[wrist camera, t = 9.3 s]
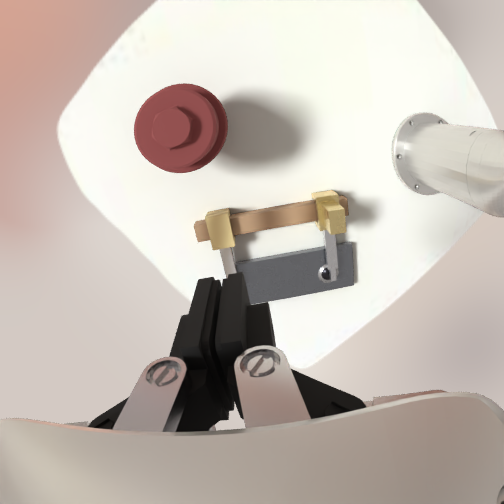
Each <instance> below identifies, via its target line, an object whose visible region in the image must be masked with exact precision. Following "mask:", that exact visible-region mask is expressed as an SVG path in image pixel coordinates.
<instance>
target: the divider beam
mask: <svg viewBox="0 0 504 504" xmlns="http://www.w3.org/2000/svg"><path fill="white" fill-rule="evenodd" d="M339 204H340V205H341V206H342V207H343V208H344V209H345V216H348V215H349V212H348V201H347V198H346V197H344V196H343V195H342V196H339ZM312 221H318V218H317V209H316V202H315V201H314V200H310V201H304V202H298V203H292V204H287V205H281V206H275V207H269V208H264V209H258V210H253V211H247V212H242V213H237V214H231V215H230V210H229V208H226V209H220V210H215V211H210V212H208V213H207V215H206V217H205V220H201V221H196V222H195V224H194V229H195V233H196V237H197V240H198V242H202V241H207V240H211V244H212V248H213V250H218V249H220V253H221V257H222V261H223V265H224V269H225V273H226V277H227V278H228V274H233V273H237V270H236V266H235V261H234V257H233V253H232V248H231V247H234V246H235V240H236V237H235V235H239V234H245V233H250V232H256V231H261V230H267V229H272V228H278V227H284V226H289V225H295V224H301V223H307V222H312Z"/></svg>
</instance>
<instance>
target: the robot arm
mask: <svg viewBox="0 0 504 504" xmlns="http://www.w3.org/2000/svg"><path fill="white" fill-rule="evenodd" d="M409 122H410V124H409ZM397 155H398V157H397ZM392 160H393V164H394V168H395V170H396V173H397V175H398V176H399V178H400V180H401V181H402V182H403V183H404V184H405V186H407V187H408V188H409V189H411V190H413V191H415V192H417V193H420V194H423V195H432V194H436V193H438V192H442V193H445V194H447V195H449V196H452V197H454V198H456V199H458V200H460V201H463V202H465V203H467V204H469V205H471V206H473V207H475V208H477V209H479V210H481V211H484V212H486V213H488V214H490V215H493V216H496V217H504V131H503V130H496V129H488V128H480V127H471V126H461V125H450V124H448V123H447V122H446V121H444V120H443V119H442V118H440V117H439V116H437V115H434V114H432V113H417V114H413V115H411V116H409V117H407V118H406V119H405V120H404V121H403V122H402V123H401V124H400V126H399V127H398V129H397V131H396V133H395V135H394V139H393V143H392ZM234 401H235V404H236V407H237V409H238V412H239V414H240V417H241V418H242V419H244V422H245V427H246V428H245V429H233V430H219V431H216V428H215V424H216V423H217V422H218V421H220V420H228V418H229V411H232V410H234ZM0 504H504V411H503V409H501V408H500V407H499V406H498V405H497V404H496V403H495V402H494V401H492V400H491V399H489V398H487V397H485V396H483V395H479V394H476V393H469V392H446V391H443V390H431V391H424V392H417V393H409V394H401V395H393V396H382V397H374V398H373V401H366V402H363V401H362V400H360V399H359V398H357V397H355V396H353V395H351V394H348V393H346V392H343V391H341V390H338V389H336V388H334V387H331V386H329V385H327V384H324V383H322V382H320V381H317V380H315V379H313V378H310V377H308V376H306V375H304V374H301V373H299V372H297V371H295V370H292V369H291V368H290V366H289V363H288V361H287V358H286V356H285V354H284V353H283V351H281V350H280V349H278V348H276V344H275V337H274V330H273V324H272V319H271V314H270V308H269V304H268V302H265V303H260V304H254V305H251V304H250V300H249V295H248V291H247V286H246V282H245V278H244V274H243V272H239V273H233V274H228V278H227V279H223V283H222V286H221V283H220V280H215V279H214V277H210V278H204V279H199V280H198V283H197V286H196V290H195V293H194V297H193V300H192V304H191V307H190V311H189V314H188V315H183V316H182V317H181V319H180V322H179V326H178V329H177V332H176V336H175V339H174V342H173V346H172V349H171V352H170V356H169V357H164V358H160V359H157V360H156V361H154V362H152V363H150V364H149V365H148V366H147V367H146V368H145V369H144V371H143V373H142V374H141V376H140V378H139V380H138V382H137V383H136V385H135V387H134V389H133V391H132V393H131V395H130V396H129V397H128V398H127V399H125V400H124V401H122V402H120V403H119V404H117V405H116V406H114V407H113V408H111V409H109V410H108V411H106V412H105V413H103V414H101V415H100V416H98V417H97V418H95V419H94V420H93V421H92V422H91V423H89V422H78V423H68V424H59V423H51V422H46V421H39V420H31V419H21V418H10V419H1V420H0Z"/></svg>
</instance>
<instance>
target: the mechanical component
mask: <svg viewBox="0 0 504 504" xmlns="http://www.w3.org/2000/svg"><path fill="white" fill-rule="evenodd" d="M227 130H228V121H227V116H226V113H225V110H224V108H223V106H222V104H221V103H220V101H219V100H218V99H217V98H216V97H215V96H214V95H213V94H212V93H211V92H209V91H208V90H206V89H204V88H202V87H200V86H197V85H193V84H176V85H171V86H168V87H166V88H164V89H162V90H160V91H158V92H157V93H155V94H154V95H152V96H151V97H150V98H149V99H147V100H146V101H145V103H144V104H143V105H142V106H141V108H140V110H139V112H138V114H137V117H136V120H135V124H134V136H135V141H136V144H137V146H138V149H139V150H140V152H141V154H142V155H143V156H144V157H145V158H146V159H147V160H148V161H149V162H151V163H152V164H154V165H155V166H157V167H159V168H161V169H163V170H165V171H169V172H174V173H186V172H191V171H195V170H197V169H200V168H202V167H203V166H205V165H207V164H208V163H209V162H211V161H212V160H213V159H214V158H215V157H216V156H217V154H218V153H219V152H220V150H221V149H222V147H223V145H224V143H225V140H226V136H227Z"/></svg>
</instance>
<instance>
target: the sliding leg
mask: <svg viewBox="0 0 504 504" xmlns="http://www.w3.org/2000/svg"><path fill="white" fill-rule="evenodd" d="M312 199H313V200H314V201H315V202H316V209H317V218H318V221H315V224H316V225H317V227H318V228H319V230H320V231H323V236H324V246H325V256H326V267H327V269H328V270H329V276H330V280H331V281H336V268H338V261H337V248H336V236H335V234H340V233H346V220H345V209H344V208H343V207H342V206H341V205H340V204H339V196H338V194H337V193H336V192H334V191H333V190H329V191H322V192H316V193H312Z"/></svg>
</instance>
